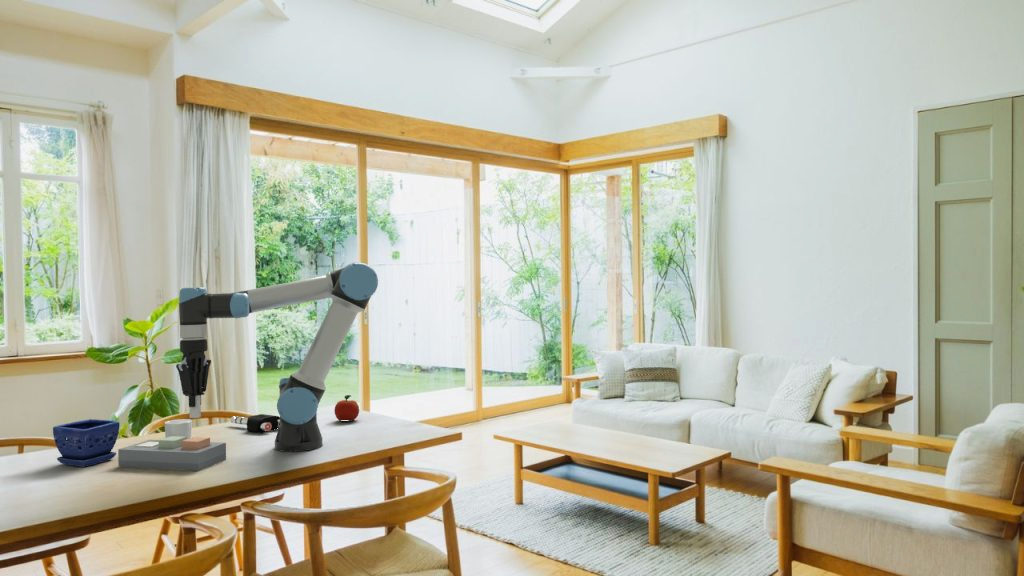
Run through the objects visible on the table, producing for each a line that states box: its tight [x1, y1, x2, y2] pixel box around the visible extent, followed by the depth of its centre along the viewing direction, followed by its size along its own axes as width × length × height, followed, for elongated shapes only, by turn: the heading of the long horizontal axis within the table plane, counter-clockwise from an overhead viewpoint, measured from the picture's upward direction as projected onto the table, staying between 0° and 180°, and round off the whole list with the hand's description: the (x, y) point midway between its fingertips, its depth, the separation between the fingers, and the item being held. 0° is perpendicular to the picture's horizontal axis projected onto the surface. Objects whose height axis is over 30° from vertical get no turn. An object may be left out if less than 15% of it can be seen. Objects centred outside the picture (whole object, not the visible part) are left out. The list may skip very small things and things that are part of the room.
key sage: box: [158, 436, 187, 449], centre depth 208 cm, size 6×6×4 cm
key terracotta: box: [182, 436, 211, 450], centre depth 207 cm, size 6×6×4 cm
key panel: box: [117, 439, 227, 472], centre depth 208 cm, size 27×13×5 cm, turn 78°
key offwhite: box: [136, 442, 159, 448], centre depth 210 cm, size 6×6×4 cm
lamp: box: [230, 413, 280, 434], centre depth 258 cm, size 11×5×25 cm
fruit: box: [334, 394, 360, 421], centre depth 271 cm, size 10×10×10 cm
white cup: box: [164, 418, 193, 439], centre depth 222 cm, size 8×8×10 cm
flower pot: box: [52, 418, 120, 468], centre depth 211 cm, size 13×13×12 cm
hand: (195, 417), depth 207 cm, fingers closed
